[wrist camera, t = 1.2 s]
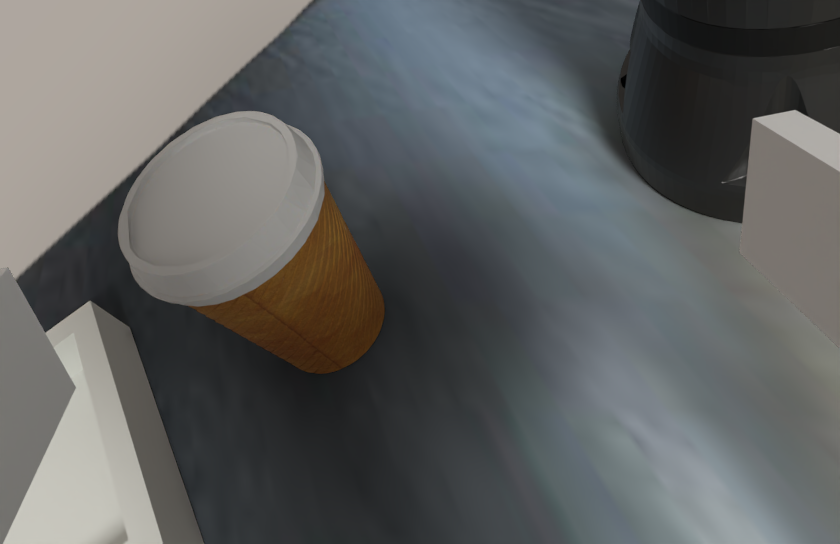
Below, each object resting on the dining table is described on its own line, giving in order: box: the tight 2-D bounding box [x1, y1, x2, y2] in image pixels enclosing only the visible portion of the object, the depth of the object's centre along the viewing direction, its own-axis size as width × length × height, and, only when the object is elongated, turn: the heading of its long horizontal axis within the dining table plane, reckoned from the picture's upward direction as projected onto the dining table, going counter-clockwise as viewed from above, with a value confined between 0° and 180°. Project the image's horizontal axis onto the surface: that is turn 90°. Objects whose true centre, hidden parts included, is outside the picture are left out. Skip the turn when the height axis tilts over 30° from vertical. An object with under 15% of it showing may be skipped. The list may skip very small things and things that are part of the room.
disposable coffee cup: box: [118, 111, 385, 374], centre depth 33 cm, size 10×10×12 cm
